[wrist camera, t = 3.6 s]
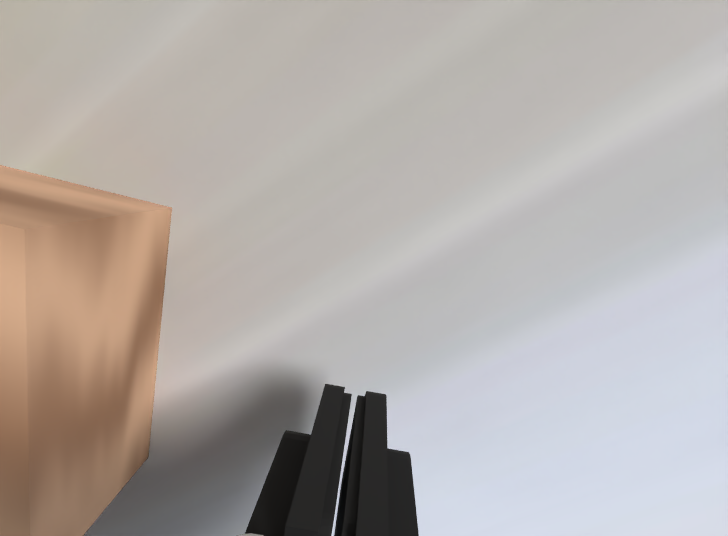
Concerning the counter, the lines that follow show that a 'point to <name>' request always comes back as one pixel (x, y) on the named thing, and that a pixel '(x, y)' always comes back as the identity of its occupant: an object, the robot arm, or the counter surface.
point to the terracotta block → (74, 348)
